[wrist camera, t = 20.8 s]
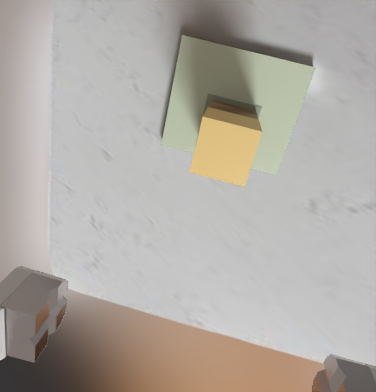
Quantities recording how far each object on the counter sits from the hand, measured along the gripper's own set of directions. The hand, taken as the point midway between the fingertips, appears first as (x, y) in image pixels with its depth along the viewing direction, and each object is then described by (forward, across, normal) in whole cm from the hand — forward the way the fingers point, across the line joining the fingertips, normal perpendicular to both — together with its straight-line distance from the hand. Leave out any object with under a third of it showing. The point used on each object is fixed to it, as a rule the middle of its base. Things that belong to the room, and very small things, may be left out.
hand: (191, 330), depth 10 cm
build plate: (+31, 0, -2) cm, 31 cm away
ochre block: (+24, 0, 0) cm, 24 cm away
